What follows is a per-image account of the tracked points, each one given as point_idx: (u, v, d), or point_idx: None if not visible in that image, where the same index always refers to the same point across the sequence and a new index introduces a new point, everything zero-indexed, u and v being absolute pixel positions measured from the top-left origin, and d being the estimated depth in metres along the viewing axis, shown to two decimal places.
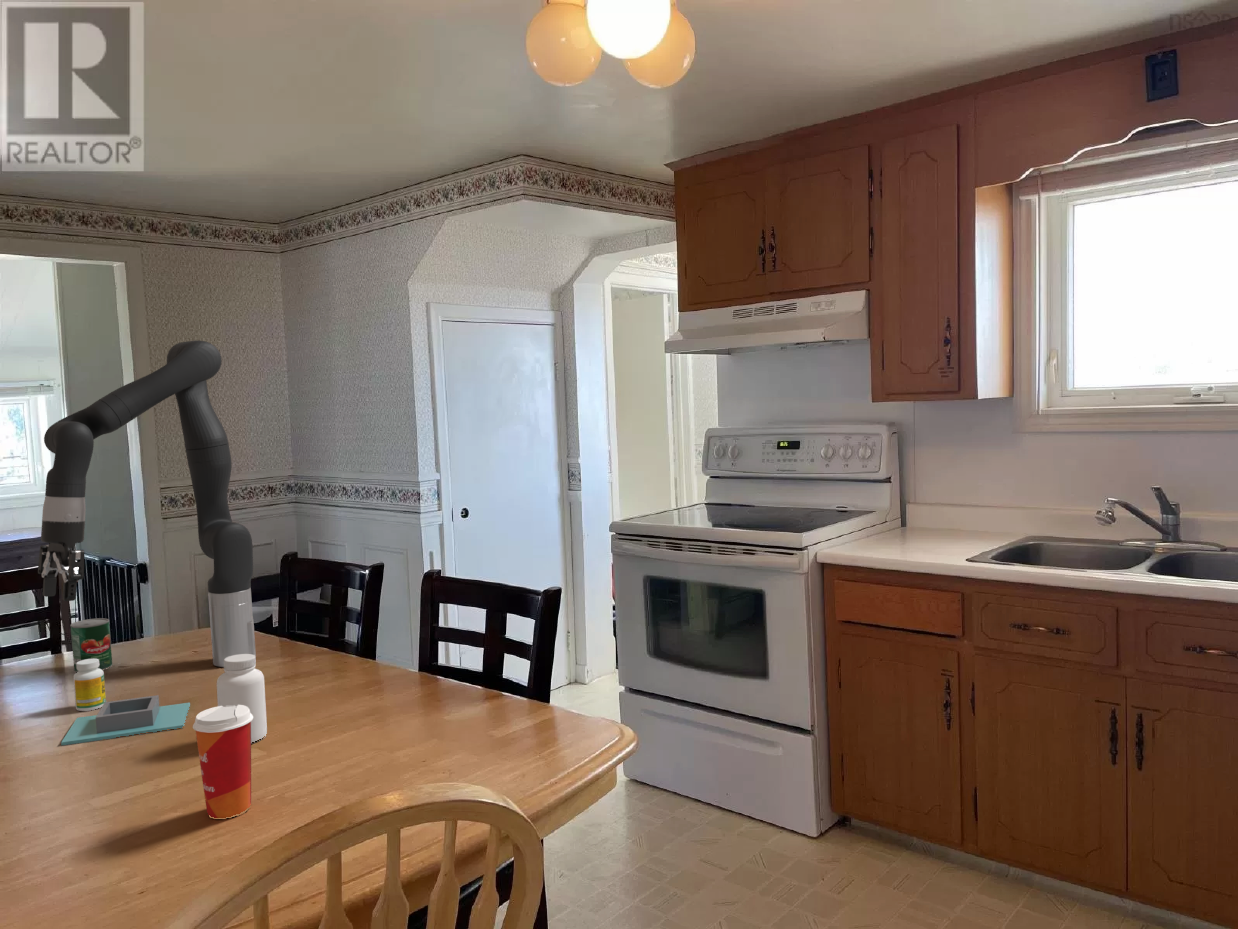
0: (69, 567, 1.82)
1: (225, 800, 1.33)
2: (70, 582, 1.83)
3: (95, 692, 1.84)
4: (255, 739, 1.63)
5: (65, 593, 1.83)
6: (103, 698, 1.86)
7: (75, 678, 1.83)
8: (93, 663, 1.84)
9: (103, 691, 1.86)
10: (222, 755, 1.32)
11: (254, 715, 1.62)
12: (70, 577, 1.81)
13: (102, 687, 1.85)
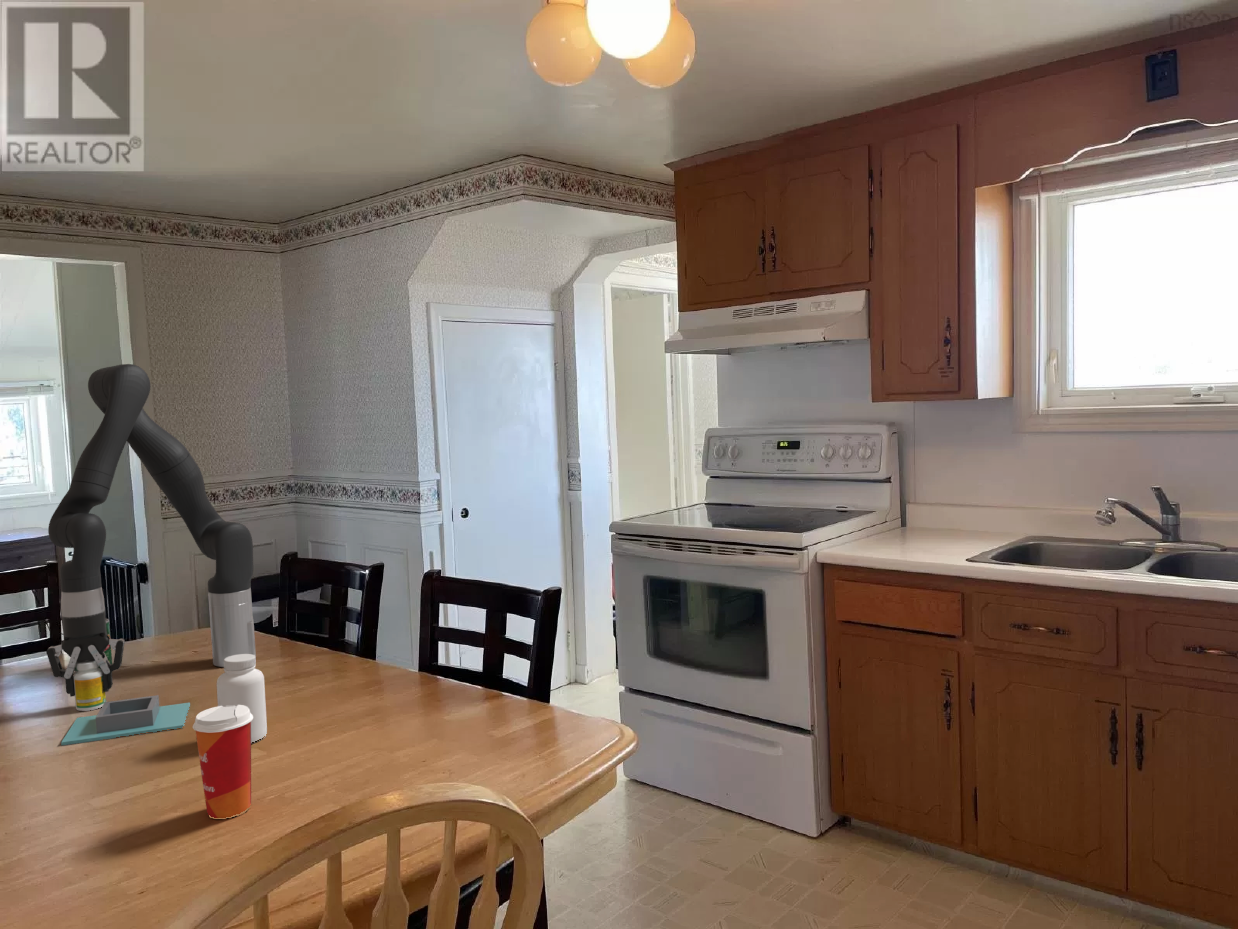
0: (116, 657, 1.86)
1: (225, 800, 1.33)
2: (111, 672, 1.86)
3: (95, 692, 1.84)
4: (255, 739, 1.63)
5: (107, 684, 1.86)
6: (103, 698, 1.86)
7: (75, 678, 1.83)
8: (93, 663, 1.84)
9: (103, 691, 1.86)
10: (222, 755, 1.32)
11: (254, 715, 1.62)
12: (118, 667, 1.86)
13: (102, 687, 1.85)
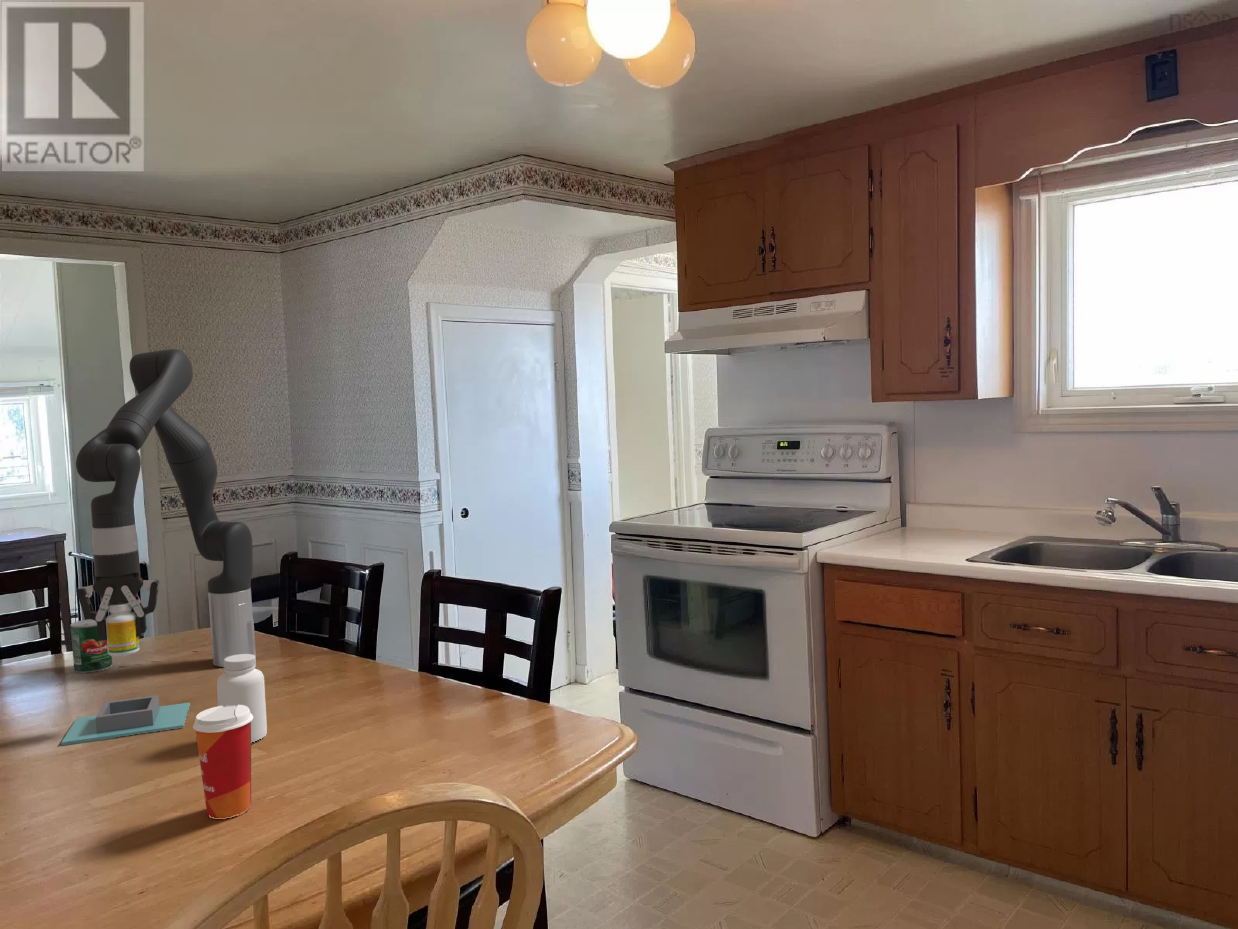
0: (151, 599, 1.74)
1: (225, 800, 1.33)
2: (145, 615, 1.74)
3: (129, 636, 1.72)
4: (255, 739, 1.63)
5: (141, 628, 1.74)
6: (137, 643, 1.74)
7: (107, 620, 1.71)
8: (126, 605, 1.72)
9: (137, 635, 1.74)
10: (222, 755, 1.32)
11: (254, 715, 1.62)
12: (152, 610, 1.74)
13: (136, 631, 1.73)
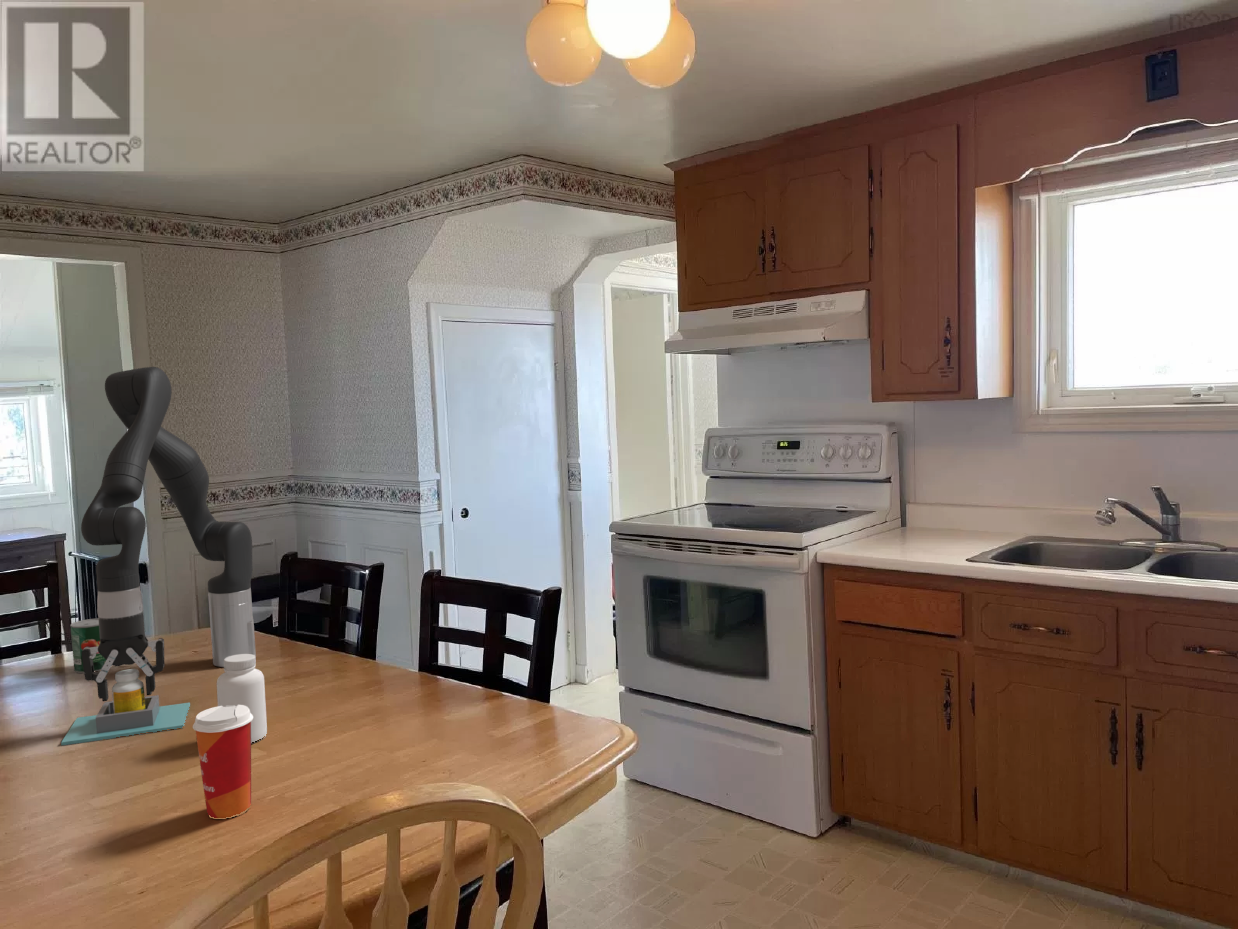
0: (158, 659, 1.75)
1: (225, 800, 1.33)
2: (154, 674, 1.75)
3: (135, 705, 1.73)
4: (255, 739, 1.63)
5: (150, 687, 1.75)
6: None
7: (114, 690, 1.72)
8: (133, 674, 1.73)
9: (143, 704, 1.75)
10: (222, 756, 1.32)
11: (254, 715, 1.62)
12: (161, 668, 1.75)
13: (142, 699, 1.74)
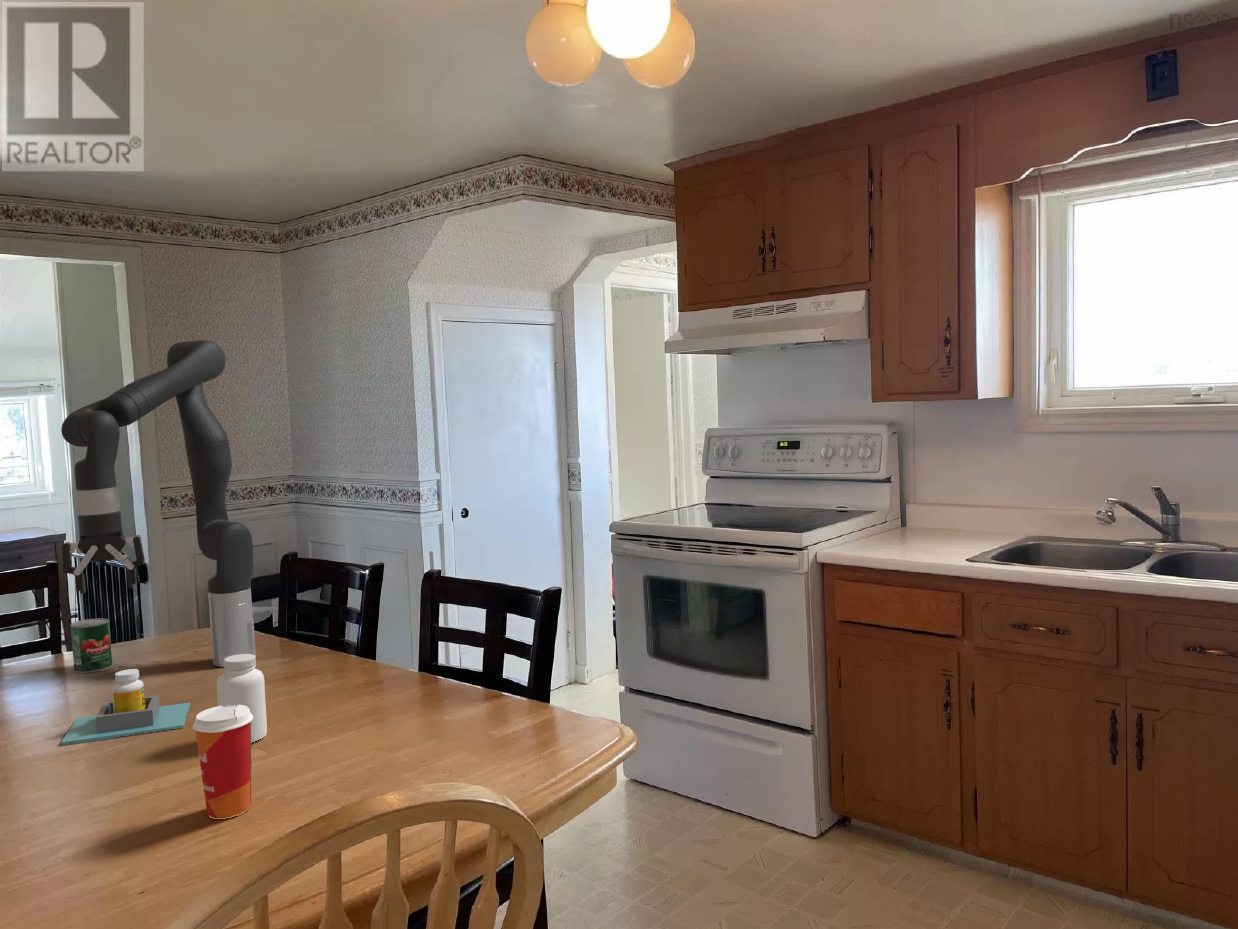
0: (137, 553, 1.85)
1: (225, 800, 1.33)
2: (135, 568, 1.86)
3: (135, 705, 1.73)
4: (255, 739, 1.63)
5: (131, 580, 1.85)
6: None
7: (114, 690, 1.72)
8: (133, 674, 1.73)
9: (143, 704, 1.75)
10: (222, 756, 1.32)
11: (254, 715, 1.62)
12: (142, 562, 1.86)
13: (142, 699, 1.74)
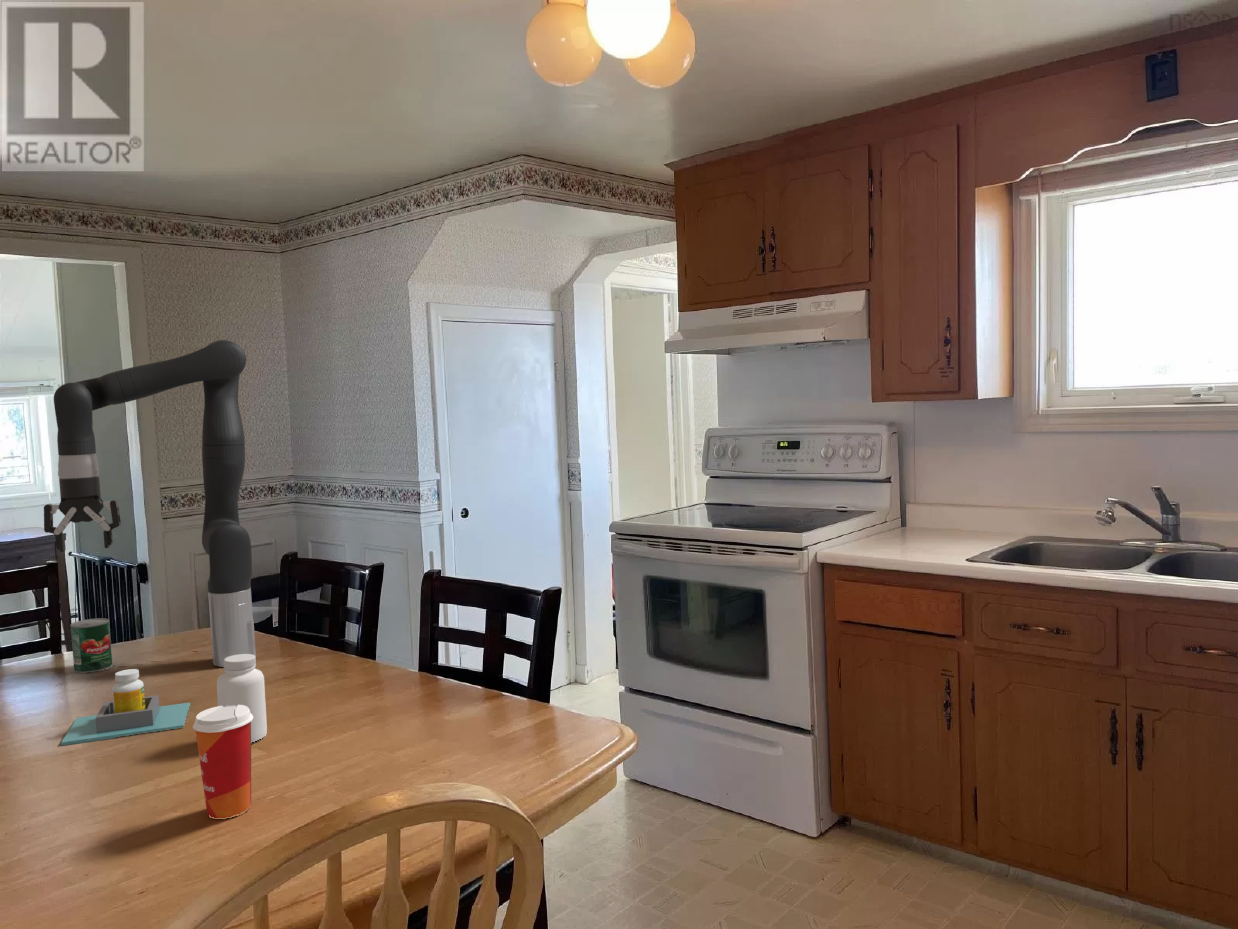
0: (113, 516, 1.99)
1: (225, 800, 1.33)
2: (111, 530, 2.00)
3: (135, 705, 1.73)
4: (255, 739, 1.63)
5: (107, 541, 1.99)
6: None
7: (114, 690, 1.72)
8: (133, 674, 1.73)
9: (143, 704, 1.75)
10: (222, 755, 1.32)
11: (254, 715, 1.62)
12: (117, 524, 1.99)
13: (142, 699, 1.74)
